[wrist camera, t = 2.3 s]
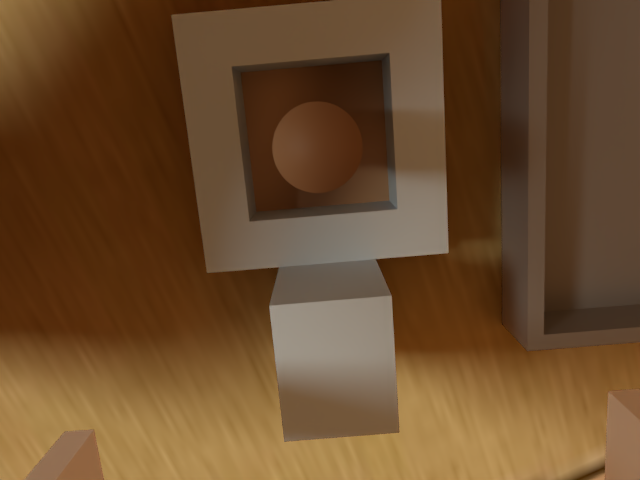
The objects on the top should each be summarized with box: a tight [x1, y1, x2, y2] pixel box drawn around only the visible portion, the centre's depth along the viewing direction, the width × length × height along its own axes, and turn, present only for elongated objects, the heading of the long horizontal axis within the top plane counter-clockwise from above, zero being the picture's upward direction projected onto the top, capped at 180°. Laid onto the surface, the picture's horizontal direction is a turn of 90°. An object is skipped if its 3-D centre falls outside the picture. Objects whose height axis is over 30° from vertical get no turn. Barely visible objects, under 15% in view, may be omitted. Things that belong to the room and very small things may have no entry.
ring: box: [171, 0, 449, 442], centre depth 20 cm, size 10×15×7 cm, turn 5°
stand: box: [241, 60, 389, 212], centre depth 18 cm, size 11×11×10 cm
